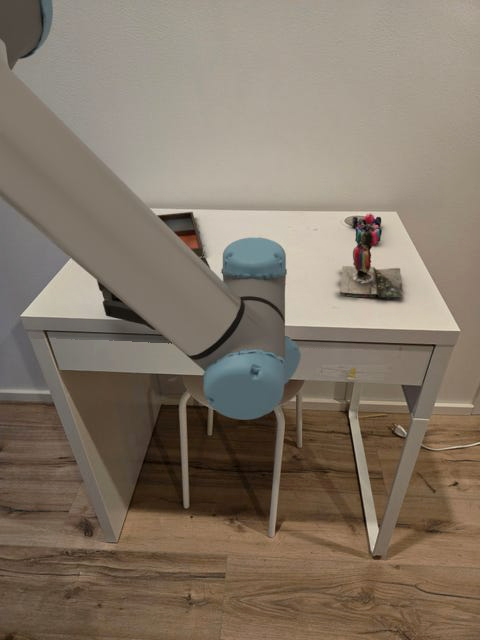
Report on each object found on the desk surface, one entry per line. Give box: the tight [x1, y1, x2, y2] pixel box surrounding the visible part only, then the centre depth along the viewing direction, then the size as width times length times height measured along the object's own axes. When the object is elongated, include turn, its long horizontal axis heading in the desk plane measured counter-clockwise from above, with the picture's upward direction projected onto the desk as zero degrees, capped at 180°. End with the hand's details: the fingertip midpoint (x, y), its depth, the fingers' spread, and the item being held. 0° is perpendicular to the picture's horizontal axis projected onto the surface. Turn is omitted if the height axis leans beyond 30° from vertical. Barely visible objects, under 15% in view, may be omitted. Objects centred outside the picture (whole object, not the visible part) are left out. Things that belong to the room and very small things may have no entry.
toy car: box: [351, 216, 382, 228], centre depth 100 cm, size 12×6×4 cm, turn 177°
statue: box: [339, 212, 404, 301], centre depth 79 cm, size 11×9×15 cm
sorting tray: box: [156, 211, 204, 258], centre depth 100 cm, size 18×20×2 cm
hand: (133, 268), depth 78 cm, fingers open, 13 cm apart
